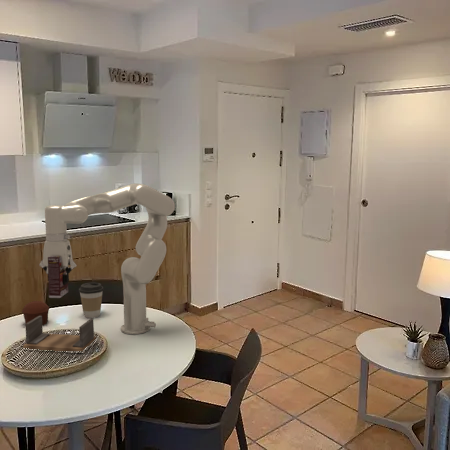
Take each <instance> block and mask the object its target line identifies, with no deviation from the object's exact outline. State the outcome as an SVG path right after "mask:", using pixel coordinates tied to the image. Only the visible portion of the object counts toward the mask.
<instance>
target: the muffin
mask: <svg viewBox="0 0 450 450" xmlns="http://www.w3.org/2000/svg"><path fill="white" fill-rule="evenodd" d="M49 311H50V307H49V305H47V303H46V302H43V301H41V300H33V301H30V302H27V303H26V304H25V305H24V306H23V308H22V310H21V312H22V313H23V318H24V323H25V324H26V323H28V322H29V321H31V320H33V319H34V318H36V317H38V316H42V327H43V326H44V325H47V323H48V321H49V320H48V318H49Z"/></svg>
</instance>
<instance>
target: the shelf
mask: <svg viewBox="0 0 450 450" xmlns="http://www.w3.org/2000/svg"><path fill="white" fill-rule="evenodd" d="M94 324H95V323H94V318H88V320H87V321H86V322H84V323H83V324H81V325H80V326H79V330H78V331H79V335H77V334H76V335H74V334H63V333H61V334H60V333H59V334H58V333H45V332H44V331H43V326H42V316H38V317H36V318H34V319H33V320H31V321H29V322H28V323H25V341H26V343H24V344H23V348H29V349H40V350H54V351H83V350H84V349H85V348H86V347H87V346H89V345H90V344H91V343H92V342H93V341H94V340H95V339H96V338H98V337H97V336H95V330H94V329H95V328H94V327H95V325H94Z"/></svg>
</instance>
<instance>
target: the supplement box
mask: <svg viewBox="0 0 450 450" xmlns="http://www.w3.org/2000/svg"><path fill="white" fill-rule="evenodd" d="M63 275H64V273H63V270H62V265H61V257H59V256H50V257H48V274H47V281H48V280H49V281H48V298H50V299H60V298H63V296H64V295H66V294H67V293H69V283H68V284H66V285H63Z"/></svg>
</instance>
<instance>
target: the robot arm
mask: <svg viewBox="0 0 450 450" xmlns="http://www.w3.org/2000/svg"><path fill="white" fill-rule="evenodd" d="M134 205H141V206H142V207H144V208H145V210H146V211H147V215H148V217H147V218H148V221H147V224H146V226H145V228H144V230H143V232H142V233H141V235H140V237H139V239H138V240H137V242H136V244H135V252H136V253H137V255H139V256H140V258H138V257H134V256H133V257H132V256H130V257H128V258H126V259H125V260H124V261H123V262H122V264H121V267H120V274H121V279H122V290H123V294H122V295H123V325H121V326H120V331H121V333H123V334H127V335H140V334H144V333H147V332H148V331H150V330H151V328H154V329H155V328H156V325H157V324H156V322H155V321H150V320H149V317H147V289H146V288H147V287H146V286H147V284H149V283H150V282H151V281H152V280H153V279H154V277H155V276H156V274H157V272H158V271H159V269H160V266H161V265H162V263H163V261H164V259H165V257H166V254H167V244H166V243H165V241H164V240H163V238H164V236H165V233H166V231H167V228H168V218H167V217H169V216H170V215H172V214H173V213H174V211H175V207H176V205H175V202H174V200H173V198H171V197H170V196H168V195H167V194H164V193H163V192H161V191H159V190H156V189H155V188H153V187H151V186H149V185H147V184H145V183H143V184H142V183H130V184H127V185H123V186H121V187H116V188H115V189H111V190H109V191H106V192H100V193H97V194H93V195H90V196H89V195H88V196H86V197H82V198H79V199H75V200H72V201H69V202H67V203H65V204H64V205H62V204H52V205H51V204H50V205H47V206H45V208H44V218H45V224H44V225H45V241H44V244H43V252H42V253H43V255H42V260H41V261H40V263H39V267H41V268H42V270H43V271H44V272H45V273H46V274H47V275H48V257H50V256H59V257H61V265H62V270H63V273H64V275H63V285H66V284H68V285H69V282H70V278H69V277H70V276H69V275H70V273H71V272H72V270H73V269H75V268H77V264H76V262H74V260H73V252H72V246H71V242H70V239H71V235H70V234H68V231H67V229H68V228H67V224H73V225H80V224H83V223H84V222H86V221H87V220H88V218H89V216H90V215H95V214H108V213H114V212H117V211H119V210H122V209H124V208H128V207H131V206H134ZM47 281H48V282H49V280H48V279H47Z"/></svg>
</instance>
